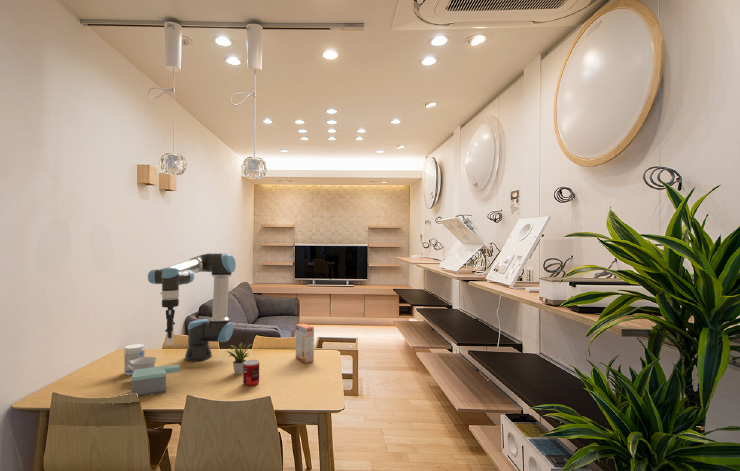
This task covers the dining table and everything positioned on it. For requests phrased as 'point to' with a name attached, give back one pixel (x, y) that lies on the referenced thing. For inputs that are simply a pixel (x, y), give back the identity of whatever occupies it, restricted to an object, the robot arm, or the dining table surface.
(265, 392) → the dining table surface
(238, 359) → the house plant
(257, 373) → the canned food
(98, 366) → the dining table surface
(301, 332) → the cracker box
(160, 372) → the lid
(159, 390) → the tub
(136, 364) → the teacup
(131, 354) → the supplement tub
